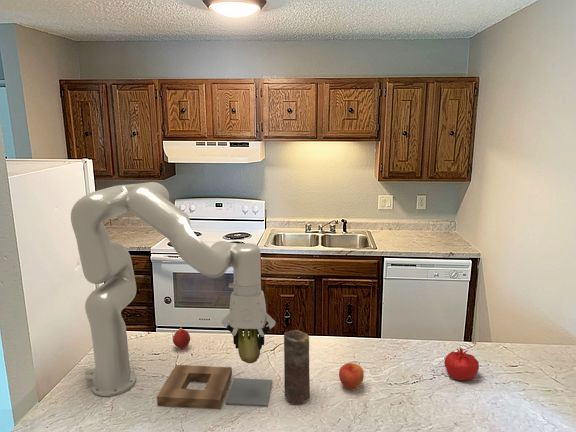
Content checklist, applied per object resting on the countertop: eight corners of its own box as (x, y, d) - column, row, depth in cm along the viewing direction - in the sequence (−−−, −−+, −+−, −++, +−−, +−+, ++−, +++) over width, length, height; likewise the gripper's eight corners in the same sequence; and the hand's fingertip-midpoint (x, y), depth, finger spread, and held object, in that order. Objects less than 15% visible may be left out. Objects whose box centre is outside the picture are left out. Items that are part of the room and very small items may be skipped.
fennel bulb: (237, 363, 121) (236, 325, 119) (243, 354, 126) (242, 317, 123) (256, 366, 120) (255, 327, 117) (261, 357, 125) (261, 319, 122)
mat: (225, 404, 120) (225, 402, 120) (233, 379, 131) (233, 378, 131) (267, 406, 119) (267, 405, 119) (272, 381, 131) (272, 379, 130)
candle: (280, 392, 125) (280, 330, 121) (303, 386, 128) (304, 326, 124) (289, 408, 118) (289, 342, 114) (313, 402, 121) (314, 338, 117)
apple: (364, 382, 130) (365, 358, 129) (361, 396, 123) (362, 372, 122) (340, 378, 132) (341, 355, 131) (336, 392, 125) (337, 368, 124)
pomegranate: (478, 387, 128) (482, 360, 126) (443, 381, 131) (446, 354, 129) (475, 369, 137) (479, 343, 135) (443, 363, 140) (445, 338, 138)
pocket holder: (157, 406, 119) (156, 396, 119) (176, 373, 135) (175, 364, 134) (220, 409, 118) (219, 399, 117) (232, 375, 133) (231, 367, 133)
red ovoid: (183, 342, 154) (182, 322, 152) (194, 347, 150) (192, 327, 148) (170, 349, 149) (169, 328, 148) (180, 354, 146) (179, 333, 144)
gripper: (213, 292, 115) (216, 352, 119) (276, 294, 114) (277, 354, 118) (220, 282, 122) (222, 339, 126) (279, 283, 121) (280, 341, 125)
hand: (249, 346), depth 122 cm, fingers closed on fennel bulb, 6 cm apart
